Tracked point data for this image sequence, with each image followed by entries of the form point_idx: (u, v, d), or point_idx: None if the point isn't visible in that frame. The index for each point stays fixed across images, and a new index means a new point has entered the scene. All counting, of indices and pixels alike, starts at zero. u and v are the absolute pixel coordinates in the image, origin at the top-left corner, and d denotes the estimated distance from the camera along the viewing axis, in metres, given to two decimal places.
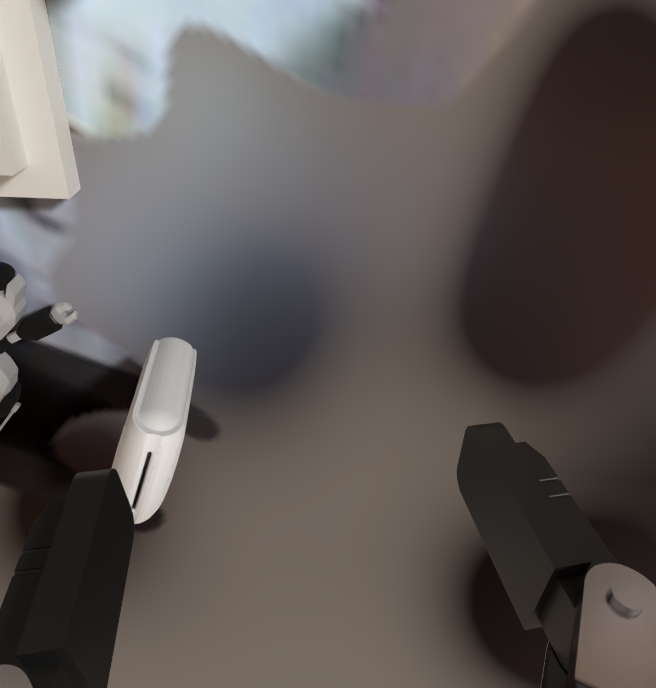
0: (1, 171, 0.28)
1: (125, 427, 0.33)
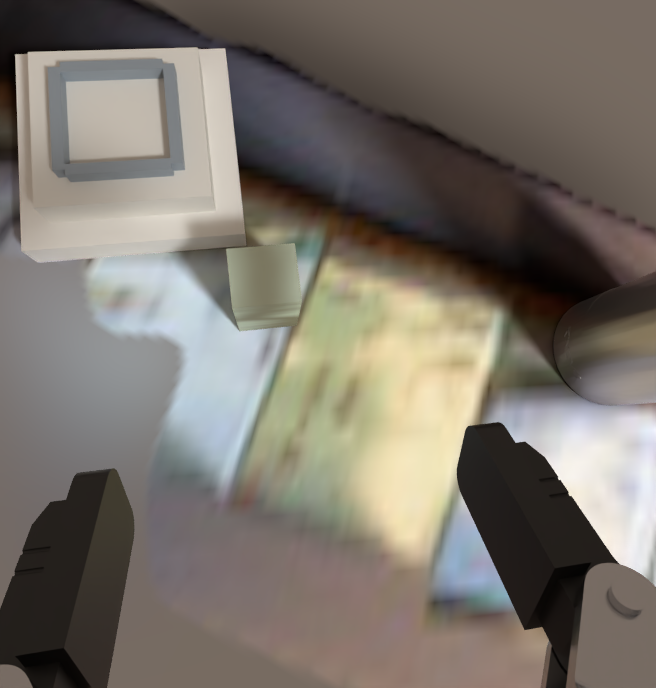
0: (36, 200, 0.33)
1: None
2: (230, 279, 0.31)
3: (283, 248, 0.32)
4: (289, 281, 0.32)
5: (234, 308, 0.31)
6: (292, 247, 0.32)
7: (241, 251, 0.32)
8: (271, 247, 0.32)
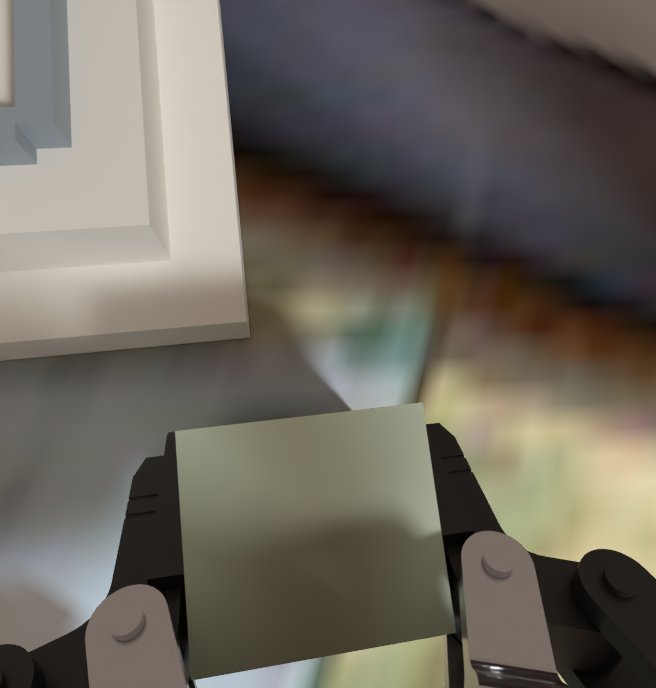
0: None
1: None
2: (188, 556, 0.08)
3: (385, 421, 0.09)
4: (407, 554, 0.09)
5: None
6: (415, 418, 0.09)
7: (232, 439, 0.09)
8: (342, 419, 0.09)
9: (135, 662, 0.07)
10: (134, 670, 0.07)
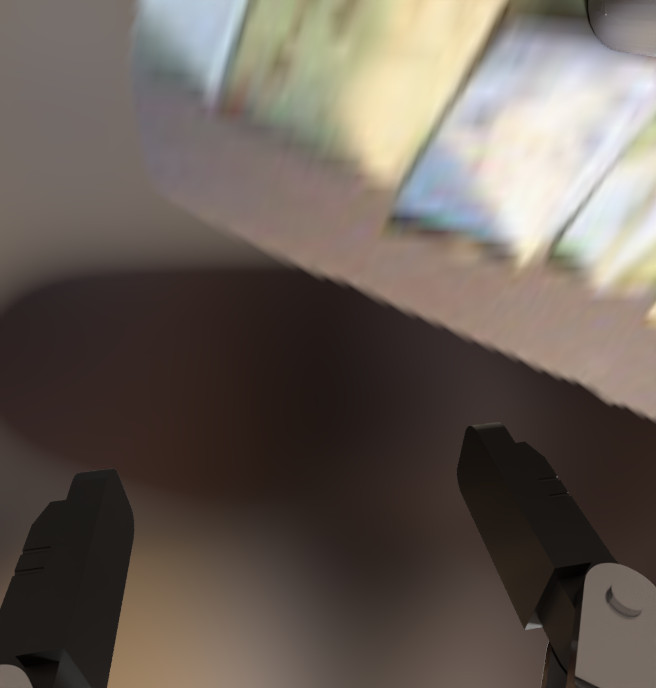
0: None
1: None
2: None
3: None
4: None
5: None
6: None
7: None
8: None
9: None
10: None
